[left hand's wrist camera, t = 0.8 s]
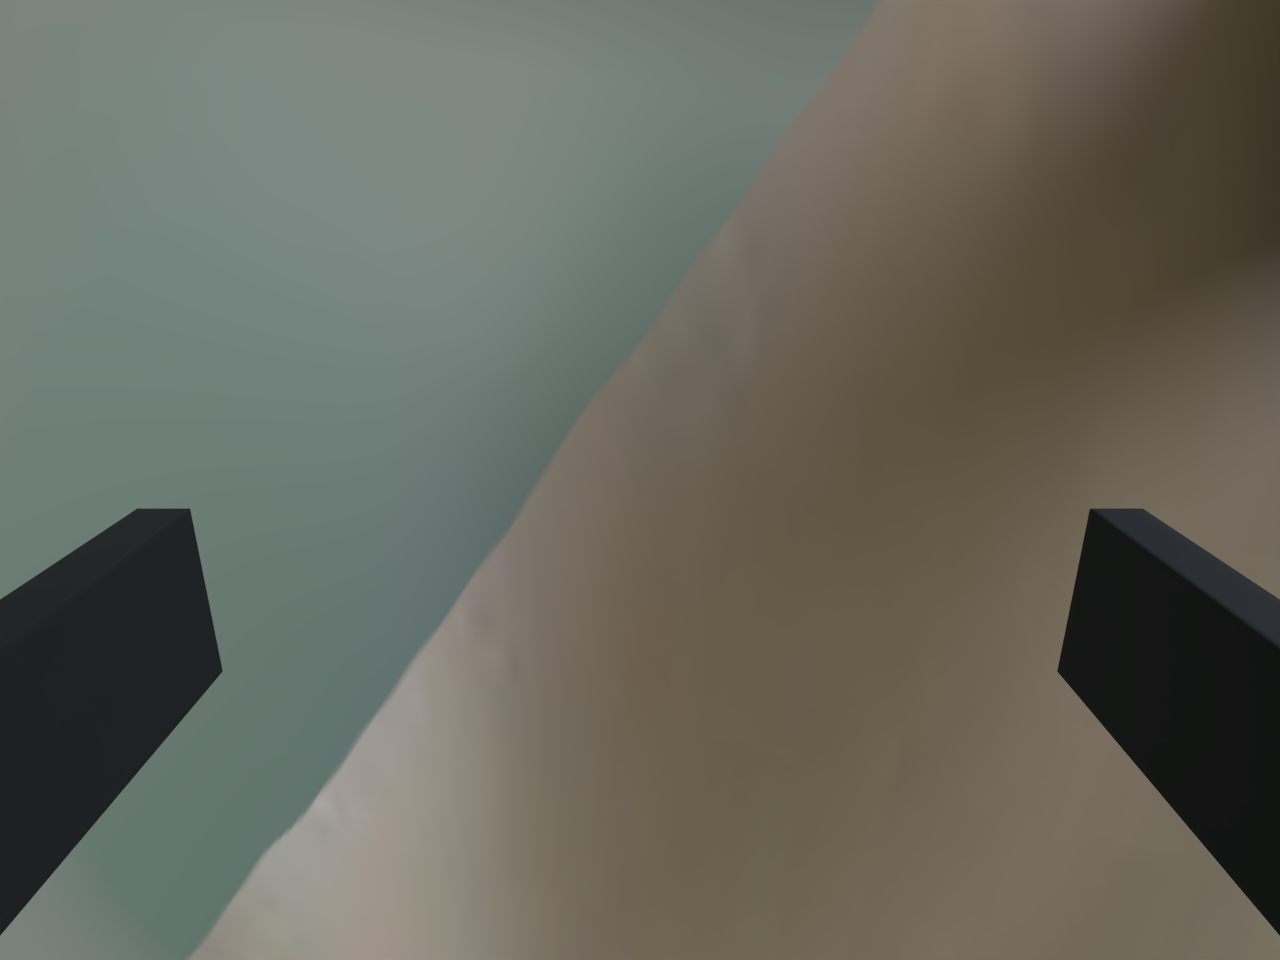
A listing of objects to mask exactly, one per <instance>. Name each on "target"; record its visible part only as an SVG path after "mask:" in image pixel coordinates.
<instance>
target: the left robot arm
mask: <svg viewBox="0 0 1280 960" xmlns="http://www.w3.org/2000/svg"><path fill="white" fill-rule="evenodd" d="M221 673H222V667H221V661H220V656H219V651H218V646H217V641H216V637H215V631H214V626H213V621H212V616H211V611H210V606H209V601H208V596H207V591H206V586H205V582H204V577H203V572H202V567H201V562H200V557H199V552H198V546H197V541H196V537H195V531H194V526H193V522H192V517H191V512H190V509H136V510H135V511H133V512H132V513H130V514H129V515H127V516H126V517H124V518H123V519H121V520H120V521H118V522H117V523H115V524H114V525H112V526H111V527H109V528H108V529H106V530H105V531H103V532H102V533H100V534H99V535H97V536H96V537H94V538H92V539H91V540H89V541H88V542H86V543H85V544H84V545H82V546H80V547H79V548H77V549H76V550H74V551H73V552H71V553H70V554H68V555H67V556H65V557H64V558H62V559H61V560H59V561H58V562H56V563H55V564H53V565H52V566H50V567H49V568H47V569H46V570H44V571H43V572H41V573H40V574H38V575H37V576H35V577H34V578H32V579H31V580H29V581H28V582H26V583H25V584H23V585H22V586H20V587H19V588H17V589H16V590H14V591H13V592H11V593H10V594H8V595H7V596H5V597H4V598H2V599H1V600H0V935H1V934H2V933H3V932H4V930H5V929H6V928H7V927H8V926H9V924H10V923H11V922H12V921H13V920H14V918H15V917H16V916H17V915H18V914H19V913H20V911H21V910H22V909H23V908H24V907H25V905H26V904H27V903H28V902H29V901H30V899H31V898H32V897H33V896H34V895H35V893H36V892H37V891H38V890H39V889H40V888H41V886H42V885H43V884H44V883H45V882H46V880H47V879H48V878H49V877H50V876H51V874H52V873H53V872H54V871H55V870H56V869H57V867H58V866H59V865H60V864H61V863H62V861H63V860H64V859H65V858H66V857H67V855H68V854H69V853H70V852H71V851H72V850H73V848H74V847H75V846H76V845H77V844H78V842H79V841H80V840H81V839H82V838H83V836H84V835H85V834H86V833H87V832H88V831H89V829H90V828H91V827H92V826H93V825H94V823H95V822H96V821H97V820H98V819H99V817H100V816H101V815H102V814H103V813H104V812H105V810H106V809H107V808H108V807H109V806H110V804H111V803H112V802H113V801H114V800H115V798H116V797H117V796H118V795H119V794H120V793H121V791H122V790H123V789H124V788H125V787H126V785H127V784H128V783H129V782H130V781H131V779H132V778H133V777H134V776H135V775H136V774H137V772H138V771H139V770H140V769H141V768H142V766H143V765H144V764H145V763H146V762H147V760H148V759H149V758H150V757H151V756H152V755H153V753H154V752H155V751H156V750H157V749H158V747H159V746H160V745H161V744H162V743H163V741H164V740H165V739H166V738H167V737H168V736H169V734H170V733H171V732H172V731H173V729H174V728H175V727H176V726H177V725H178V724H179V722H180V721H181V720H182V719H183V718H184V716H185V715H186V714H187V713H188V712H189V711H190V709H191V708H192V707H193V706H194V705H195V703H196V702H197V701H198V700H199V699H200V697H201V696H202V695H203V694H204V693H205V692H206V690H207V689H208V688H209V687H210V686H211V684H212V683H213V682H214V681H215V680H216V678H217V677H218V676H219V675H220V674H221ZM1058 673H1059V674H1060V675H1061V676H1062V677H1063V678H1064V680H1065V681H1066V682H1067V683H1068V684H1069V686H1070V687H1071V688H1072V689H1073V690H1074V692H1075V693H1076V694H1077V695H1078V696H1079V697H1080V699H1081V700H1082V701H1083V702H1084V703H1085V705H1086V706H1087V707H1088V708H1089V709H1090V711H1091V712H1092V713H1093V714H1094V715H1095V716H1096V718H1097V719H1098V720H1099V721H1100V722H1101V724H1102V725H1103V726H1104V727H1105V728H1106V730H1107V731H1108V732H1109V733H1110V734H1111V736H1112V737H1113V738H1114V739H1115V740H1116V741H1117V743H1118V744H1119V745H1120V746H1121V747H1122V749H1123V750H1124V751H1125V752H1126V753H1127V755H1128V756H1129V757H1130V758H1131V759H1132V760H1133V762H1134V763H1135V764H1136V765H1137V766H1138V768H1139V769H1140V770H1141V771H1142V772H1143V774H1144V775H1145V776H1146V777H1147V778H1148V779H1149V781H1150V782H1151V783H1152V784H1153V785H1154V787H1155V788H1156V789H1157V790H1158V791H1159V793H1160V794H1161V795H1162V796H1163V797H1164V798H1165V800H1166V801H1167V802H1168V803H1169V804H1170V806H1171V807H1172V808H1173V809H1174V810H1175V812H1176V813H1177V814H1178V815H1179V816H1180V817H1181V819H1182V820H1183V821H1184V822H1185V823H1186V825H1187V826H1188V827H1189V828H1190V829H1191V831H1192V832H1193V833H1194V834H1195V835H1196V836H1197V838H1198V839H1199V840H1200V841H1201V842H1202V844H1203V845H1204V846H1205V847H1206V848H1207V850H1208V851H1209V852H1210V853H1211V854H1212V855H1213V857H1214V858H1215V859H1216V860H1217V861H1218V863H1219V864H1220V865H1221V866H1222V867H1223V869H1224V870H1225V871H1226V872H1227V873H1228V874H1229V876H1230V877H1231V878H1232V879H1233V880H1234V882H1235V883H1236V884H1237V885H1238V886H1239V888H1240V889H1241V890H1242V891H1243V892H1244V894H1245V895H1246V896H1247V897H1248V898H1249V899H1250V901H1251V902H1252V903H1253V904H1254V905H1255V907H1256V908H1257V909H1258V910H1259V911H1260V913H1261V914H1262V915H1263V916H1264V917H1265V918H1266V920H1267V921H1268V922H1269V923H1270V924H1271V926H1272V927H1273V928H1274V929H1275V930H1276V932H1277V933H1278V934H1279V935H1280V600H1279V599H1278V598H1276V597H1275V596H1273V595H1272V594H1270V593H1269V592H1267V591H1266V590H1264V589H1263V588H1261V587H1260V586H1258V585H1257V584H1255V583H1254V582H1252V581H1251V580H1249V579H1248V578H1246V577H1245V576H1243V575H1242V574H1240V573H1239V572H1237V571H1236V570H1234V569H1233V568H1231V567H1230V566H1228V565H1227V564H1225V563H1224V562H1222V561H1221V560H1219V559H1218V558H1216V557H1215V556H1213V555H1212V554H1210V553H1209V552H1207V551H1206V550H1204V549H1203V548H1201V547H1200V546H1198V545H1197V544H1195V543H1194V542H1192V541H1191V540H1189V539H1188V538H1186V537H1184V536H1183V535H1181V534H1180V533H1178V532H1177V531H1175V530H1174V529H1172V528H1171V527H1169V526H1168V525H1166V524H1165V523H1163V522H1162V521H1160V520H1159V519H1157V518H1156V517H1154V516H1153V515H1151V514H1150V513H1148V512H1147V511H1145V510H1144V509H1090V512H1089V517H1088V522H1087V527H1086V531H1085V536H1084V541H1083V546H1082V551H1081V556H1080V561H1079V566H1078V571H1077V576H1076V581H1075V586H1074V591H1073V596H1072V601H1071V606H1070V611H1069V616H1068V621H1067V626H1066V631H1065V636H1064V641H1063V646H1062V651H1061V656H1060V661H1059V666H1058Z"/></svg>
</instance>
